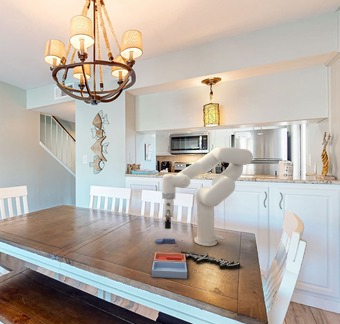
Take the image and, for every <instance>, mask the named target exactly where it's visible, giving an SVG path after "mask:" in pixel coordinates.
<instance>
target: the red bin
mask: <svg viewBox="0 0 340 324" xmlns="http://www.w3.org/2000/svg"><path fill="white" fill-rule="evenodd" d="M161 256H163V257H166V256H179V257H182V261H175V260H158V257H161ZM153 257H154V258H153V261H166V262H186V263H187V260H186V258H185V254H181V252H180V253H179V252H154V256H153Z"/></svg>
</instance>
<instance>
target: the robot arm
mask: <svg viewBox="0 0 340 324" xmlns="http://www.w3.org/2000/svg"><path fill="white" fill-rule="evenodd" d="M253 159H254V155H253V152H251V150H249V149H246V148H240V147H231V146H226V145H225V146H217V147H215V148H213V149H212V150H210V151H209V152H208V153H206V154H205V155H204V156H202V157H201V158H199V159H197V160H196V161H194V162H193V163H191V164H189V166H187V167H185V168H184V169H182V170H181V171H179V172H178V173H176V174H173V173H165V174H163V175H162V184H161V185H162V187H161V190H162V191H161V199H162V200H163V214H164V218H165V220H164V229H165V230H171V229H172V218H174V208H175V207H174V206H175V205H174V204H175V203H174V200H176V192H177V191H176V189H177V188H181V189H185V188H188V187H189V186H190V184H191V180H193V179H194V178H196V177H198V176H200V175H204V174H207V173H209V171H211V170H213V169H214V168H215V167H217V166H218V165H220V164H221V163H226V164H227V163H228V166H227V167H226V169H224V170H223V171H222V172H221V173H219V174H218V175H216V176H215V177H214V178H213V180H212V181H211V187H208V186H202V187H200V188H198V190H197V191H196V194H195V195H196V196H195V198H196V211H197V212H196V218H197V219H196V223H197V224H196V230H197V231H196V236H195V237H194V239H193V241H194V243H195V244H196V245H199V246H204V247H213V246H216V245H217V244H218V241H224V237H223V236H220V235H219V234H217V235H216V234H215V208H216V206H218V205H220V204H221V203H222V202H223V201H225V200H226V199H227V198H228V197H230V195H232V194H233V193H234V191H235V190H236V181H238V180H239V178H241V176H242V175H243V171H244V166H247V165H249V164H251V163H252V161H253Z"/></svg>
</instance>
